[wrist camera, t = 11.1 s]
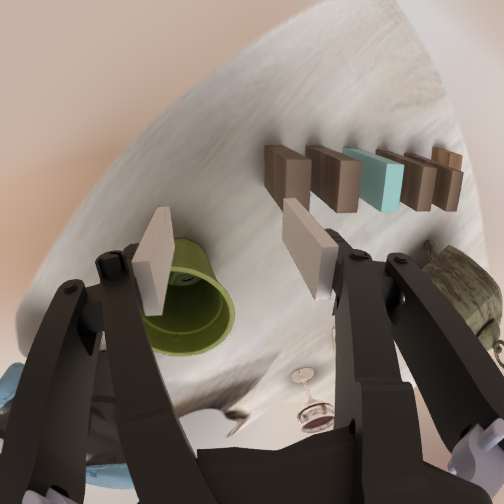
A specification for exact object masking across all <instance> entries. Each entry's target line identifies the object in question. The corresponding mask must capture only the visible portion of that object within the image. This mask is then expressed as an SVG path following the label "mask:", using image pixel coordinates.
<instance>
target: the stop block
mask: <svg viewBox="0 0 504 504" xmlns="http://www.w3.org/2000/svg"><path fill="white" fill-rule="evenodd" d="M431 160H433V161H436V162H438V163H441V164H444V165H446V166H449V167H451V168H454V169H457V170H459V171H461V164H462V155H460V154H457V153H454V152H451V151H447V150H444V149H439V148H433V150H432V159H431Z"/></svg>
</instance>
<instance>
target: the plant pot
mask: <svg viewBox="0 0 504 504" xmlns="http://www.w3.org/2000/svg"><path fill="white" fill-rule="evenodd" d="M174 244H175V250H174V254H173V259H172V264H171V269H170V274H169V279H168V284H167V290H166V295H165V301H164V306H163V312H162V315H154V316H146V315H145V312H144V308H142V312H141V314H142V317H143V321H144V324H145V327H146V331H147V334H148V337H149V340H150V343H151V347H152V350H153V351H155V352H158V353H161V354H165V355H170V356H191V355H196V354H201V353H204V352H206V351H208V350H210V349H212V348H214V347H216V346H217V345H218V344H220V343H221V342H222V341H223V340H224V339H225V338H226V337H227V336H228V334H229V333H230V331H231V329H232V326H233V323H234V318H235V311H234V306H233V302H232V300H231V298H230V296H229V294H228V293H227V291H226V290H225V289H224V288H223V286H222V285H221V284H219V282H218V281H217V280H216V277H215V275H214V272H213V270H212V267H211V265H210V262H209V259H208V257H207V254H206V252H205V251H204V249H203V248H202V247H201V246H200V245H199V244H197V243H195V242H192V241H190V240H187V239H174ZM190 277H193V278H194V279H191V280H189V281H183V279H186V278H190Z"/></svg>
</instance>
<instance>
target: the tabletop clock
mask: <svg viewBox="0 0 504 504" xmlns="http://www.w3.org/2000/svg"><path fill="white" fill-rule="evenodd" d="M425 247H426V248H427V249H428V250H430V253H431V258H432V261H430V262H429V263H428V264H427V265H426V266H425V267H423V268H422V270H423V271H424V273H425V274H426V275H427V276H428V277H429V278H430V279H431V280H432V282H433V283H434V284H435V285H436V286H437V287H438V289H439V290H440V291H441V292H442V293H443V294H444V296H445V297H446V298H447V299H448V300H449V302H450V303H451V304H452V305H453V307H454V308H455V309H456V310H457V312H458V313H459V314H460V315H461V317H462V318H463V319H464V321H465V322H466V323H467V324H468V326H469V327H470V328H471V330H472V331H473V332H474V334H475V335H476V336H477V338H478V339H479V341H480V342H481V343H482V345H483V346H484V348H485V349H486V350H487V351H488V350H490V349H492V348H493V349H494V354H495V357H496V359H497V361H498V363H499V365H500V366H502V367H503V368H504V364H503V363H502V362H501V361H500V359H499V356H498V354H499V353H500V352H501V351H502V348H501V347H500V346H499V344H502V345H503V346H504V341H502V340H498V339H499V337H500V328H499V326H500V322H501V317H502V294H501V291H500V288H499V286H498V285H497V283H496V282H495V281H494V280H493V278H492V277H491V276H490V275H489V274H488V273H487V272H486V271H485V270H484V269H483V268H482V267H480V266H479V265H478V264H477V263H476V262H475V261H474V260H472V259H471V258H470V257H468V256H467V255H465V254H464V253H463V252H461V251H460V250H458V249H456V248H454V247H452V246H449V245H448V246H447V247H446V248H445V249H444V250H443V251H442V252H441V253H440V254H438V255H437V256H435V253H434V251H433V249H432V248H433V247H434V243H433V242H432V241H431V240H428V241H427V242H426V243H425Z"/></svg>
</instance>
